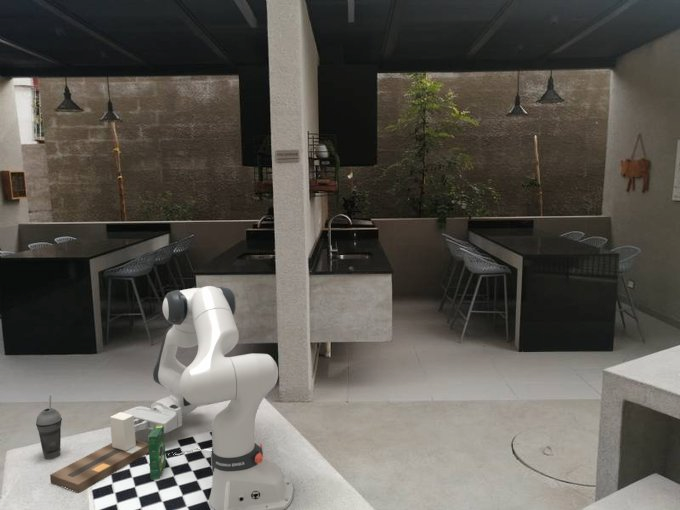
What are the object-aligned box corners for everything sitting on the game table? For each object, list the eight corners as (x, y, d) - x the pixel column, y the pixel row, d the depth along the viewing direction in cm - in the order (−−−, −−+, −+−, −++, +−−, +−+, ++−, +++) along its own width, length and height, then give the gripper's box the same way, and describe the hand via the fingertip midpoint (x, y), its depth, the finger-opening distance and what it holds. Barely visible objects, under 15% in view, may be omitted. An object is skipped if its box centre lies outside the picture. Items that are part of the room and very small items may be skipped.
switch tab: (122, 441, 172) (120, 412, 171) (135, 445, 170) (133, 415, 168) (112, 447, 169) (109, 416, 168) (125, 450, 166) (123, 420, 165)
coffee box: (157, 465, 162) (154, 424, 161) (166, 465, 162) (164, 424, 161) (149, 480, 154) (146, 436, 153) (160, 479, 154) (157, 436, 153)
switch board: (124, 443, 177) (123, 436, 176) (150, 451, 171) (150, 443, 171) (50, 482, 154) (50, 474, 153) (78, 493, 148) (77, 484, 148)
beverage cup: (47, 450, 173) (42, 391, 171) (69, 450, 173) (64, 391, 170) (34, 461, 166) (28, 400, 164) (56, 461, 166) (51, 400, 163)
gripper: (140, 398, 188) (107, 413, 175) (184, 408, 178) (152, 425, 166) (141, 416, 188) (108, 432, 176) (185, 426, 179) (154, 444, 167)
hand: (130, 428), depth 171 cm, fingers closed
